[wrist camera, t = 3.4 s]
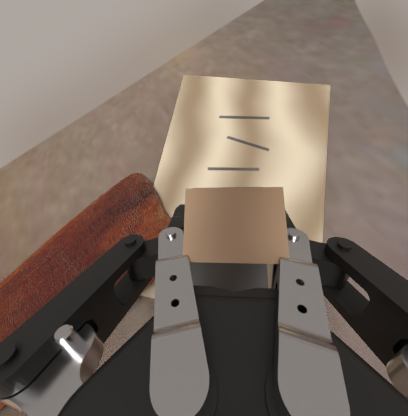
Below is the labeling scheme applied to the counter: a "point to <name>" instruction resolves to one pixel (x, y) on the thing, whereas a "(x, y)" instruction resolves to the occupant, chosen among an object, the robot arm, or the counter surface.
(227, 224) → the block
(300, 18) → the counter surface
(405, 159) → the counter surface
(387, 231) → the counter surface
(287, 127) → the birch board
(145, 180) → the wooden tablet
